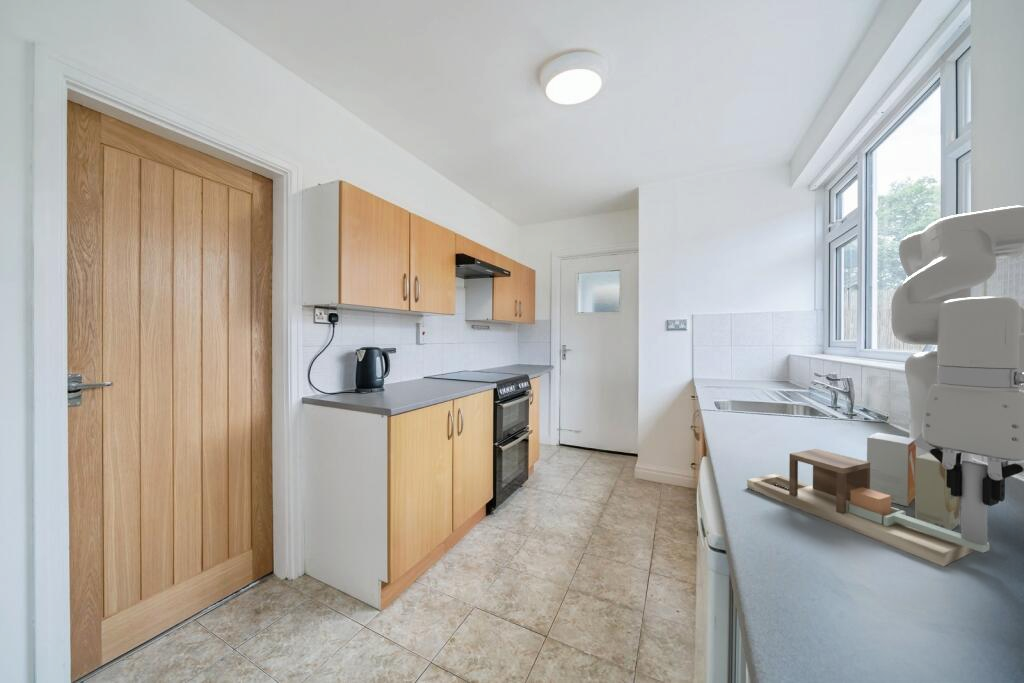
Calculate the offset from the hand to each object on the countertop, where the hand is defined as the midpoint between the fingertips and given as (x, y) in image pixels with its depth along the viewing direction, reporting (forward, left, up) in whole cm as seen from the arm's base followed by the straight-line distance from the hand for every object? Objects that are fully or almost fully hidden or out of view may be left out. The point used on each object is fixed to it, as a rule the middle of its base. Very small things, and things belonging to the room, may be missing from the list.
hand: (974, 498), depth 54 cm
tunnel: (0, -18, -8) cm, 20 cm away
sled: (0, -7, -8) cm, 10 cm away
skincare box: (-13, -8, -10) cm, 18 cm away
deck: (0, -16, -10) cm, 19 cm away
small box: (-20, -17, -10) cm, 28 cm away
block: (0, -12, -8) cm, 15 cm away
